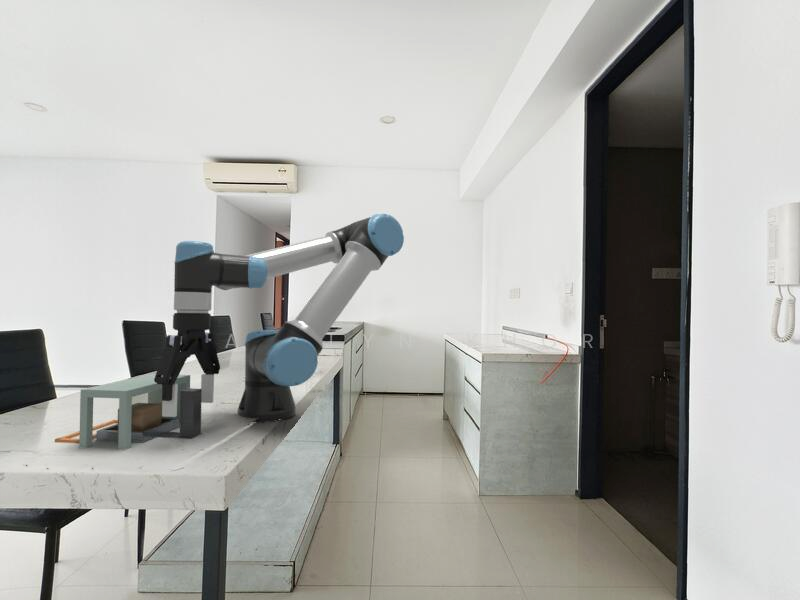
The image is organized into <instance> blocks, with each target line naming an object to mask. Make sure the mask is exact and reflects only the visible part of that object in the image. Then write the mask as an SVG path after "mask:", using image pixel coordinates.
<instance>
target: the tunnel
mask: <svg viewBox="0 0 800 600" xmlns="http://www.w3.org/2000/svg"><path fill="white" fill-rule="evenodd" d="M155 375H156V373H152V374H151V373H150V374H145V375H142V376H141V375H140V376H136V377H133V378H127V379H122V380H119V381H113V382H108V383H103V384H100V385H96V386H90V387H86V388H82V389H80V397H79V402H80V403H79V404H80V405H79V431H80V435H79V438H78V439H79V443H78V447H79V449H80V448H84V449H87V448H89V447H90V448H91V447H92V446H93V439H92V435H93V432H94V430H93V427H94V398H99V399H102V398H103V399H118V402H119V403H118V409H119V436H118V443H117V449H118V451H120V450H121V451H122V450H123V451H126V450H128V449H130V448H131V447H132V442H131V415H132V405H133V398H134V397H137V396H141V395H145V394H147V403H155V404H162V384H157V383H156V382H154V378H155ZM162 376H163V375H162ZM162 376H161V377H162ZM174 384H178V392H177V416H176V417H165V416H162V418H179V424H180V400H181V391H182V390H185V389H189V388H191V374H179V375H178V377H177V379H176V381H175V383H174Z"/></svg>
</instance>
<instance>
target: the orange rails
mask: <svg viewBox="0 0 800 600" xmlns="http://www.w3.org/2000/svg"><path fill="white" fill-rule="evenodd" d="M115 424H118V419H112V420H110V421H106V422H104V423H101V424H97V425H93V431H97V430H100V429H103V428H104V427H105V428H106V427H109V426H112V425H115ZM78 436H80V430H79V431H76V432H73V433H70V434H67V435H63V436H61V437H57V438H55V439H54V442H55V443H65V444H67V443H69V444H71V443H72V444H79V438H77V437H78ZM94 439H96V433H94V434H93V435H92V440H94Z"/></svg>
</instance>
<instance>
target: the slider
mask: <svg viewBox="0 0 800 600" xmlns="http://www.w3.org/2000/svg"><path fill="white" fill-rule="evenodd" d="M201 395H202V389H201V388H192V387H190V388H189V389H185V390H182V391H181V400H180V423H179V418H162V424H160V425H158V426H155V427H153V428H150V429H148V430H145V431H143V432H137V431H131V443H136V444H137V443H138V444H145V443H147V442H149V441H151V440H153V439H157V438H167V439H185V440H186V439H187V440H189V439H190V440H191V439H194V438H196V437H198V436H200V435H202V403H201ZM117 428H118V423H114V424H111V425H108V426H105V428H104V427H102V428H100V429H97V430H96V432H95V434H96V438H95V441H98V442H114V443H115V442H116V443H117V442H118V436H119V431H117ZM177 429H179V432H178V431H174V430H177Z"/></svg>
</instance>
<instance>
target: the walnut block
mask: <svg viewBox="0 0 800 600" xmlns="http://www.w3.org/2000/svg"><path fill="white" fill-rule="evenodd" d="M117 420H118V423H117V424H118V428H117V431H119V408H117ZM160 424H162V404H155V403H148V402H147V403H146V402H136V403H132V415H131V431H137V432H143V431H145V430H148V429H150V428H153V427H155V426H158V425H160Z"/></svg>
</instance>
